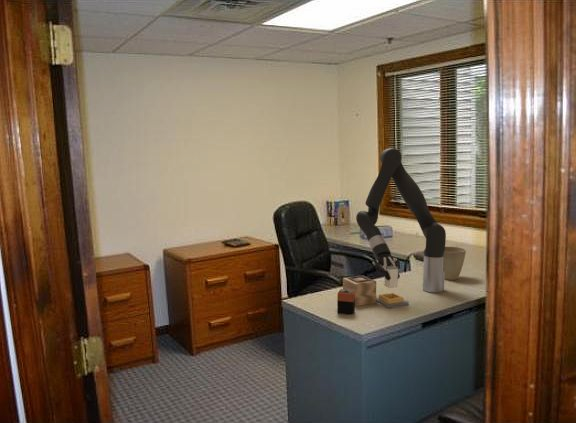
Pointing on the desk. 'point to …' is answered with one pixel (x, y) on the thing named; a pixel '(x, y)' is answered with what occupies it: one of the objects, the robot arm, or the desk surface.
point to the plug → (392, 277)
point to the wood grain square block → (361, 289)
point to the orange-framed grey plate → (391, 300)
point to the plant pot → (453, 262)
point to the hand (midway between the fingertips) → (393, 278)
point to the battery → (346, 302)
